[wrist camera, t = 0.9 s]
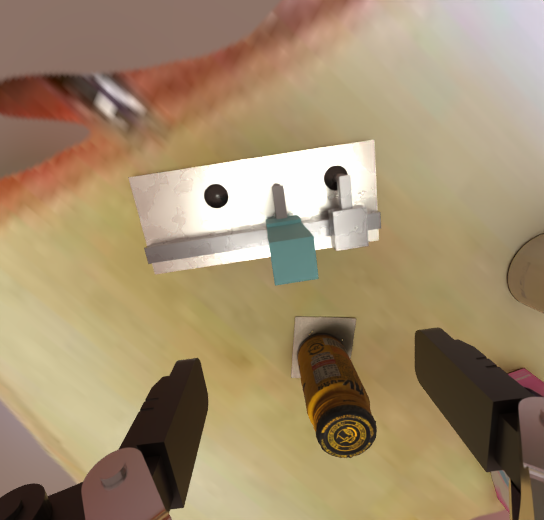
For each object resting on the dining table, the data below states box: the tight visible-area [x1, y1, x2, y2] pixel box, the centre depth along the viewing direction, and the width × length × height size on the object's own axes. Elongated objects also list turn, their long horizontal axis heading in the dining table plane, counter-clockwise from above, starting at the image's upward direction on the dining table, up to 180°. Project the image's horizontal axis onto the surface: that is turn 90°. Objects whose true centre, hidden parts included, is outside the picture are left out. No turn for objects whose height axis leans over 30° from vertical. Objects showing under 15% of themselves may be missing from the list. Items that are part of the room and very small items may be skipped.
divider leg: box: [266, 183, 319, 285], centre depth 24 cm, size 3×7×11 cm, turn 8°
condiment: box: [291, 317, 377, 458], centre depth 30 cm, size 7×8×12 cm
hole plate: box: [128, 140, 381, 274], centre depth 28 cm, size 24×10×6 cm, turn 98°
